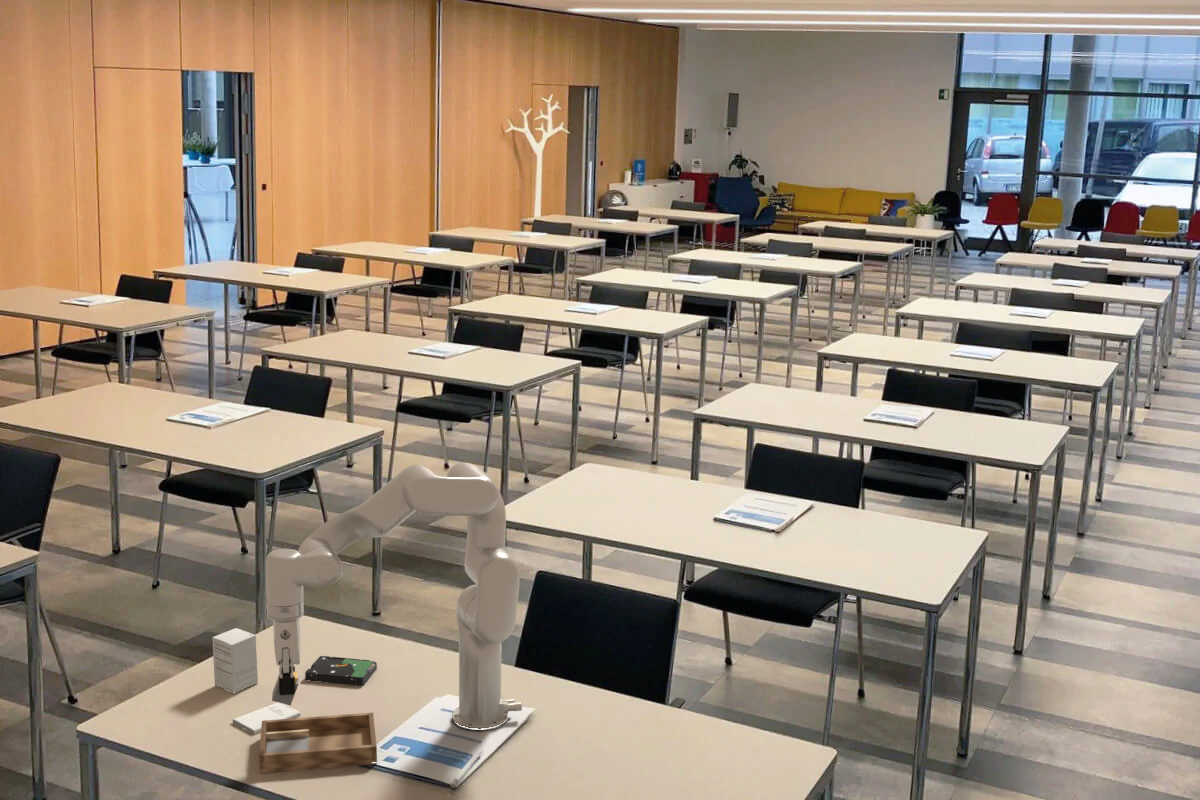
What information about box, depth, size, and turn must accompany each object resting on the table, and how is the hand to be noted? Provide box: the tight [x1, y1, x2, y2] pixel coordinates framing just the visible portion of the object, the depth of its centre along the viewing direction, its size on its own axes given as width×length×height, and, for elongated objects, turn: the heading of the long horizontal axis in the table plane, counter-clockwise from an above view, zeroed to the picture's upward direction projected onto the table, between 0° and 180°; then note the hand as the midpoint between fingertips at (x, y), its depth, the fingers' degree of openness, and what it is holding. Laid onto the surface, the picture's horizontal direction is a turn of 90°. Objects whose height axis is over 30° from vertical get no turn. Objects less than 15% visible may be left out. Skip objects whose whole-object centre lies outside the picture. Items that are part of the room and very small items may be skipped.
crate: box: [258, 712, 378, 774], centre depth 283 cm, size 24×16×4 cm, turn 102°
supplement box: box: [211, 627, 259, 694], centre depth 312 cm, size 7×7×13 cm
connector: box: [271, 671, 300, 707], centre depth 278 cm, size 4×4×6 cm
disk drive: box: [304, 655, 378, 687], centre depth 320 cm, size 10×3×15 cm
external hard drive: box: [232, 702, 301, 735], centre depth 297 cm, size 2×8×12 cm
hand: (287, 688), depth 278 cm, fingers closed on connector, 4 cm apart
